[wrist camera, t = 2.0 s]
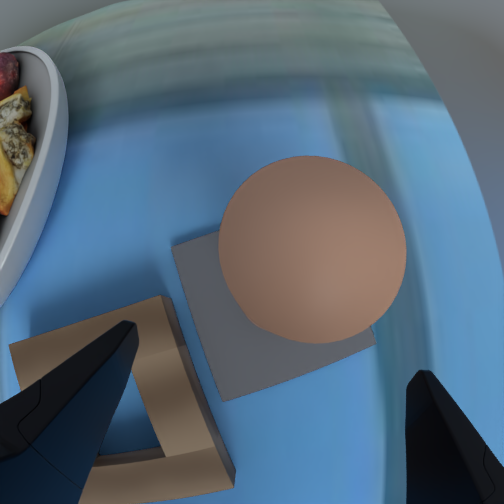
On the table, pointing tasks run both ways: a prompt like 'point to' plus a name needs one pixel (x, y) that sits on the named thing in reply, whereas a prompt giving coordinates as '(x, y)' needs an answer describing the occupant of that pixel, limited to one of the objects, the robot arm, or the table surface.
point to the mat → (245, 330)
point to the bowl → (28, 154)
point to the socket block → (155, 401)
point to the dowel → (312, 249)
